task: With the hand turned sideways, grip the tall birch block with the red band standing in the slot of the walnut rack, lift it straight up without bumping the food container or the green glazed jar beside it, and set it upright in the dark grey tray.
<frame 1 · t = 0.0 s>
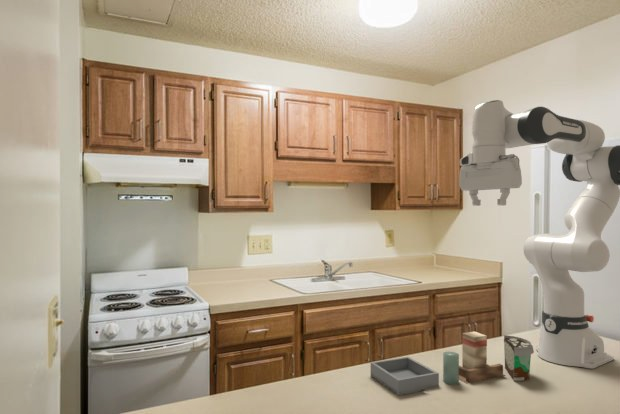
hand: (488, 205, 122), 48 cm above the table, tool pointing down, fingers open, 8 cm apart
grey tray: (403, 381, 116), on the table
walnut rack: (474, 375, 120), on the table
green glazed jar: (450, 383, 115), on the table
food container: (520, 378, 119), on the table
birch block: (474, 373, 120), point 1 cm above the table, touching walnut rack
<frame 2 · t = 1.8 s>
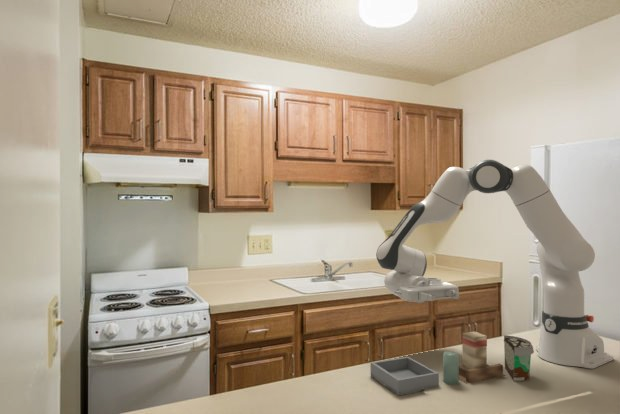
hand: (445, 297, 132), 20 cm above the table, tool horizontal, fingers open, 8 cm apart
nothing on the table moved.
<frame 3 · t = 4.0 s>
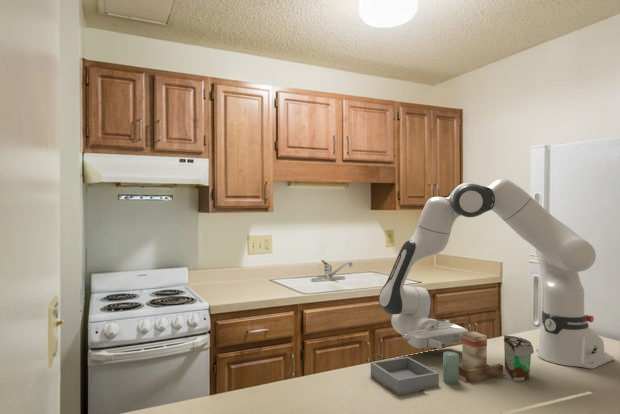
hand: (455, 344, 128), 6 cm above the table, tool horizontal, fingers open, 8 cm apart
nothing on the table moved.
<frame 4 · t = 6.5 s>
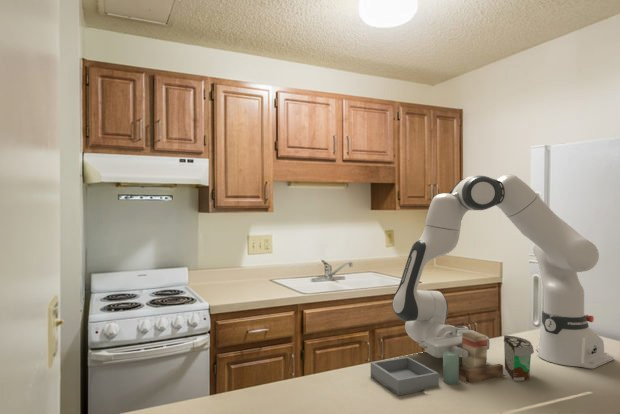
hand: (476, 353, 119), 7 cm above the table, tool horizontal, fingers closed on birch block, 4 cm apart
birch block: (474, 373, 120), point 1 cm above the table, touching gripper, walnut rack
everything else where it was.
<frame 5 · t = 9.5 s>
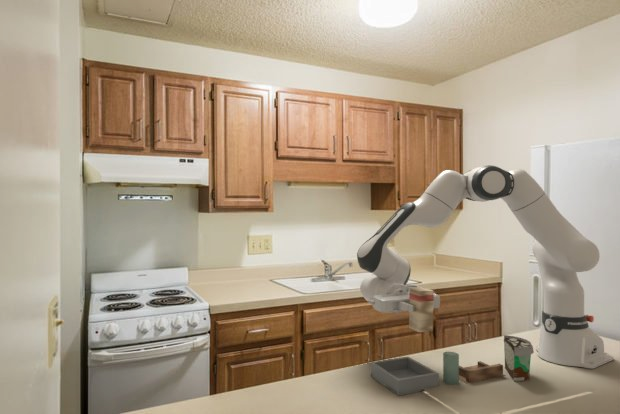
hand: (423, 308, 116), 20 cm above the table, tool horizontal, fingers closed on birch block, 4 cm apart
birch block: (420, 329, 117), point 14 cm above the table, touching gripper
everything else where it was.
when the fingers open (8 cm above the table, at t = 12.8 s): birch block drops 1 cm, resting on grey tray.
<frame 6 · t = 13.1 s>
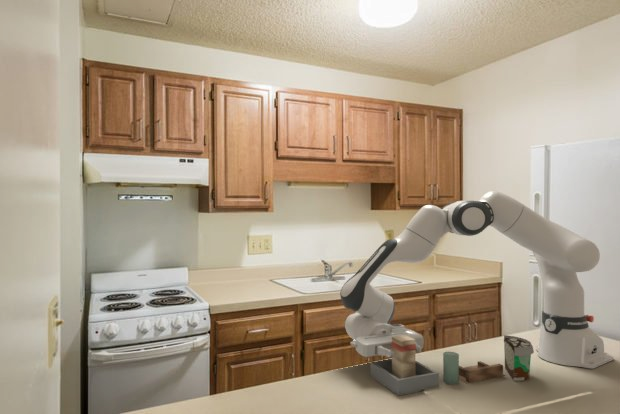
hand: (405, 352, 115), 8 cm above the table, tool horizontal, fingers open, 7 cm apart
birch block: (403, 378, 116), point 1 cm above the table, touching grey tray
everything else where it was.
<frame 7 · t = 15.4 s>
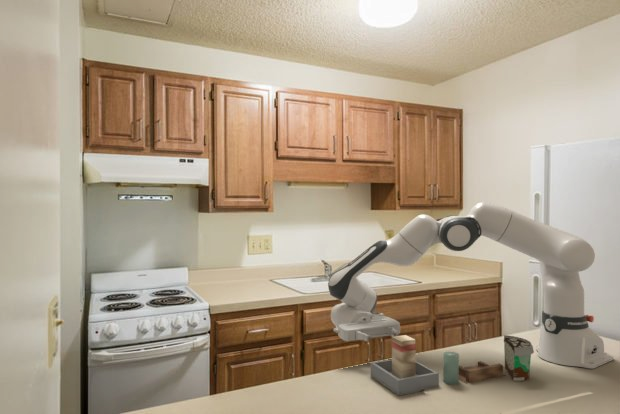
hand: (382, 336, 128), 9 cm above the table, tool horizontal, fingers open, 8 cm apart
nothing on the table moved.
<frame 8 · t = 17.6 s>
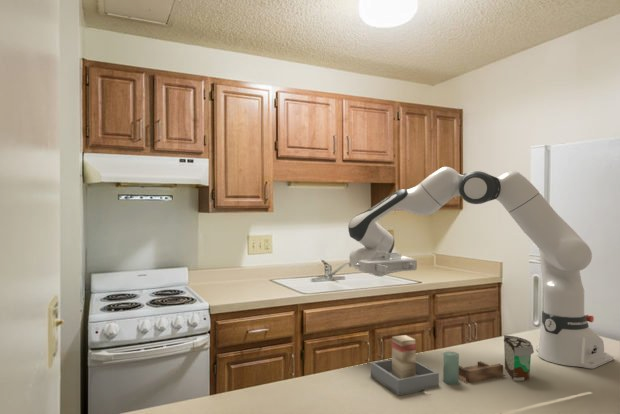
hand: (401, 268, 136), 28 cm above the table, tool horizontal, fingers open, 8 cm apart
nothing on the table moved.
at the end: birch block inside the target area on the grey tray (0.0 cm from its centre), point 0.8 cm above the grey tray's base; birch block tilted 0°; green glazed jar moved 0.0 cm from its start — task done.
